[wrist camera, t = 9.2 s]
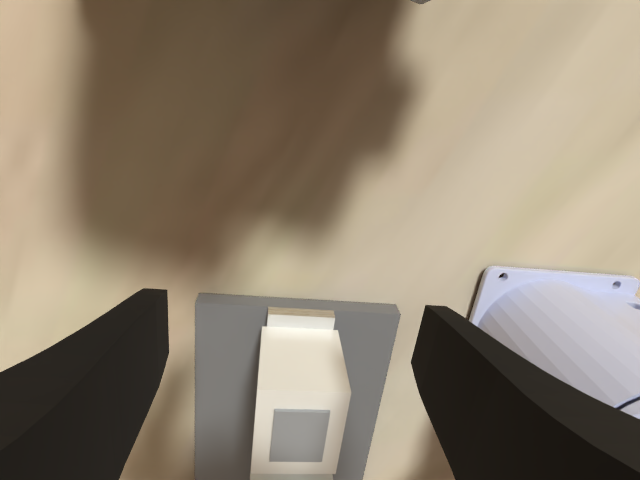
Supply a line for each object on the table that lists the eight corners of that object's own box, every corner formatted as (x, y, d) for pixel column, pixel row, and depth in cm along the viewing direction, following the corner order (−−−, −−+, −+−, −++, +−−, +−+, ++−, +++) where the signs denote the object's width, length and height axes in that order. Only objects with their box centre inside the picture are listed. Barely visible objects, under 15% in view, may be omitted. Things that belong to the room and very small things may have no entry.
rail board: (395, 304, 23) (434, 384, 17) (349, 512, 30) (365, 619, 24) (199, 292, 22) (168, 375, 16) (197, 513, 28) (175, 628, 23)
